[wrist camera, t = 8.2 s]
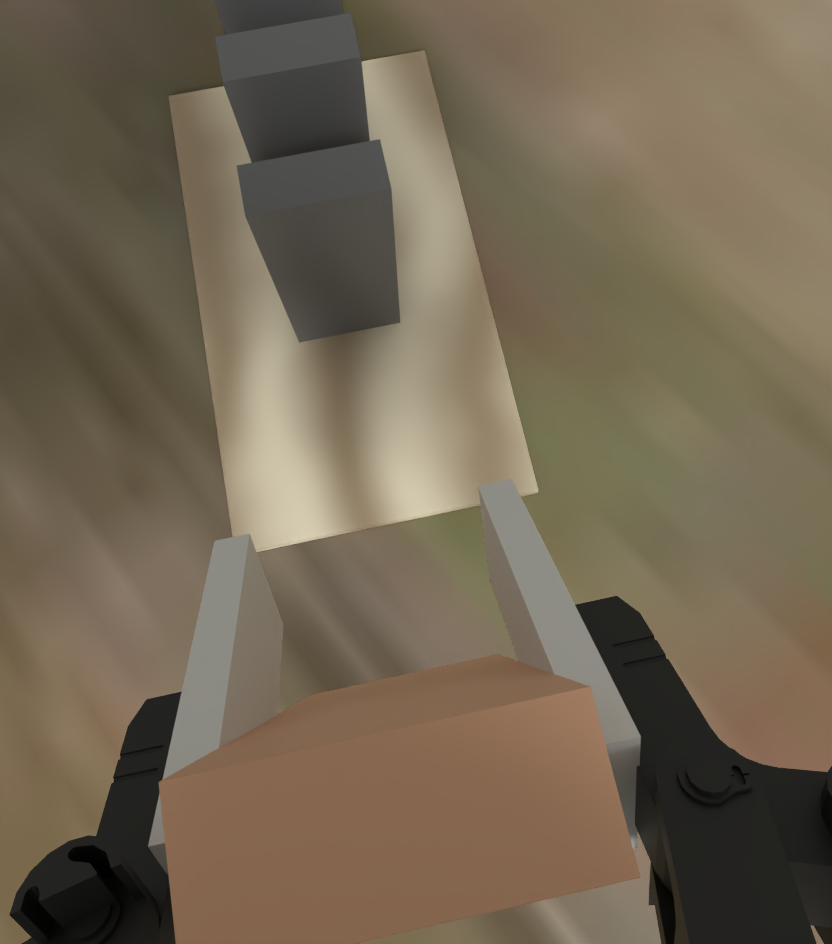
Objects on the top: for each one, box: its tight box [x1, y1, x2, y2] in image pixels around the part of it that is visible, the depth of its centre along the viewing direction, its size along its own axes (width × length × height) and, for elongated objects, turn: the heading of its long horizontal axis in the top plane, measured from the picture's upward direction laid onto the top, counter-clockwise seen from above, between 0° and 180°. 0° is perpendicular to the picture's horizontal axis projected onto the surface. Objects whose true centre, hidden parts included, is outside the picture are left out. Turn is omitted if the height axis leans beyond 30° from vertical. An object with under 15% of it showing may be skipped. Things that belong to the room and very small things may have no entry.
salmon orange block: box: [159, 654, 640, 944], centre depth 12 cm, size 2×5×10 cm, turn 102°
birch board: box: [169, 50, 538, 552], centre depth 33 cm, size 14×25×1 cm, turn 12°
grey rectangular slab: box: [215, 13, 370, 163], centre depth 28 cm, size 2×5×10 cm, turn 102°
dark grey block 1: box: [215, 0, 343, 35], centre depth 30 cm, size 2×5×10 cm, turn 102°
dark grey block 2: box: [237, 139, 400, 342], centre depth 27 cm, size 2×5×10 cm, turn 102°
